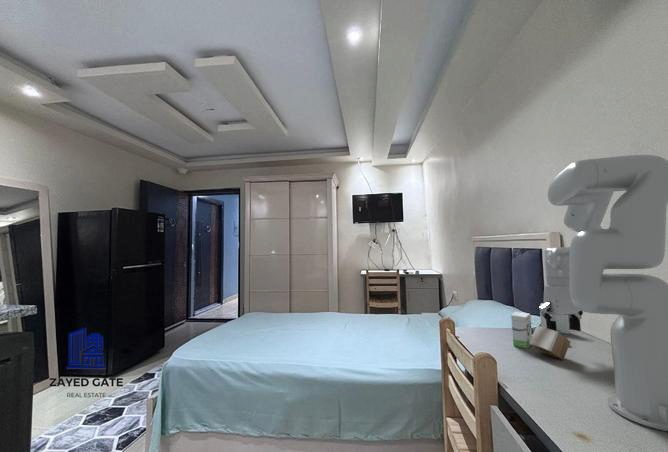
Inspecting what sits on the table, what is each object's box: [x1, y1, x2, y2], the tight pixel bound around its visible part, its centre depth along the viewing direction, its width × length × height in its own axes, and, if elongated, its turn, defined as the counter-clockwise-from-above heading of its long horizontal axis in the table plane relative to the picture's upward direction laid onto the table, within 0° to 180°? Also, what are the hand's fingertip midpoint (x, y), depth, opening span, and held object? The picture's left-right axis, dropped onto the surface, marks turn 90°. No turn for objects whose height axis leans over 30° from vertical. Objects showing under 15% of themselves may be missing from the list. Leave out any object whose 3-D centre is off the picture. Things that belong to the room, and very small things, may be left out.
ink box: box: [510, 311, 533, 349], centre depth 107 cm, size 9×5×12 cm, turn 134°
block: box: [530, 325, 571, 361], centre depth 95 cm, size 7×7×7 cm
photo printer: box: [539, 302, 570, 335], centre depth 123 cm, size 10×4×12 cm, turn 36°
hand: (563, 330), depth 96 cm, fingers open, 9 cm apart
